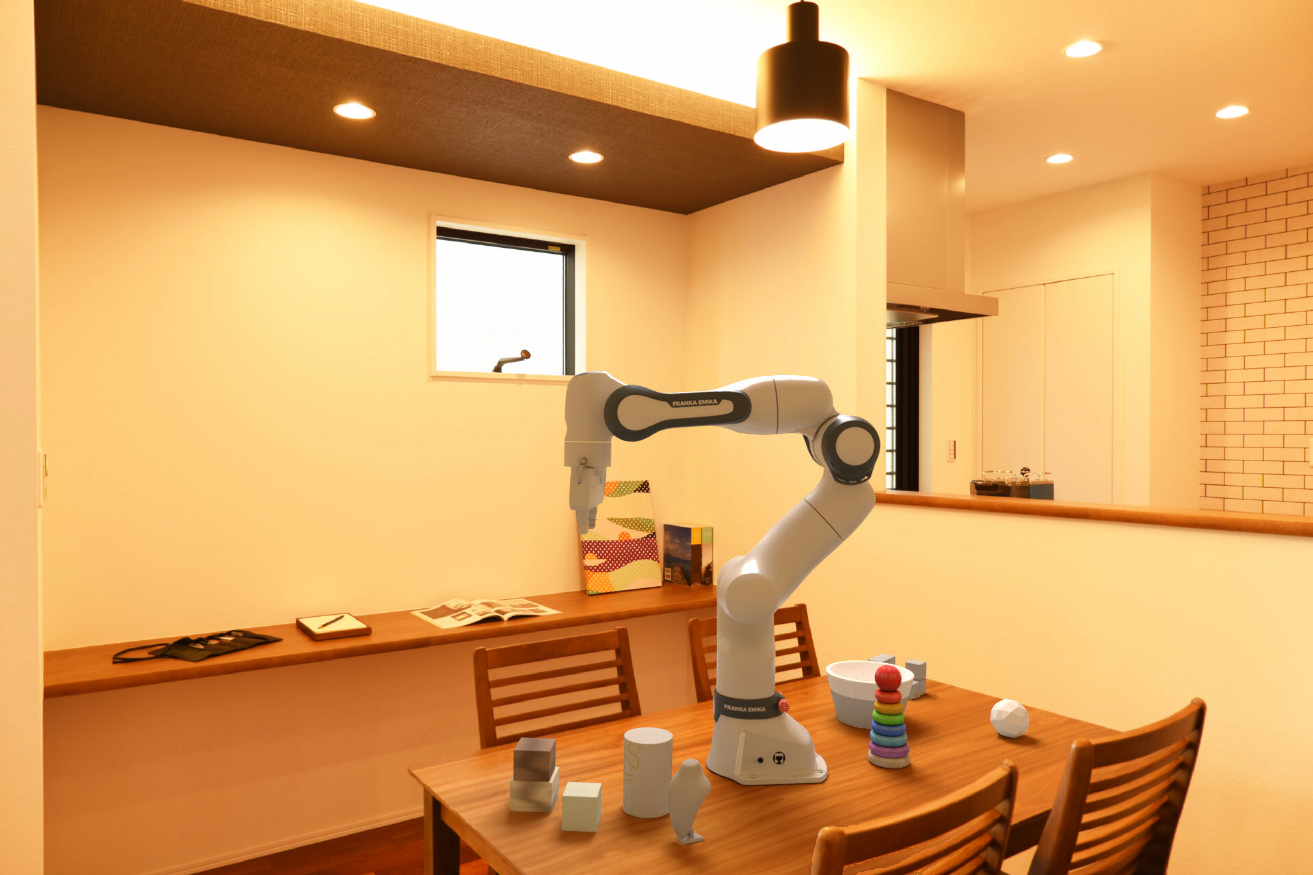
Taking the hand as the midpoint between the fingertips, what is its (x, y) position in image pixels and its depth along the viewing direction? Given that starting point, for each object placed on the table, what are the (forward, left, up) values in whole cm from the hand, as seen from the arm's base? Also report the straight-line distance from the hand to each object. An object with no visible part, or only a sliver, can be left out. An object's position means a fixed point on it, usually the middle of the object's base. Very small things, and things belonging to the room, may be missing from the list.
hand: (586, 531), depth 161 cm
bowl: (-59, -34, -44) cm, 82 cm away
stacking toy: (-58, -8, -44) cm, 74 cm away
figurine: (-20, +28, -44) cm, 56 cm away
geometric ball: (-87, -26, -44) cm, 101 cm away
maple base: (+6, +17, -44) cm, 48 cm away
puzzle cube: (-69, -55, -45) cm, 99 cm away
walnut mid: (+6, +17, -39) cm, 43 cm away
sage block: (-3, +24, -44) cm, 50 cm away
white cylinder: (-13, +17, -44) cm, 49 cm away
